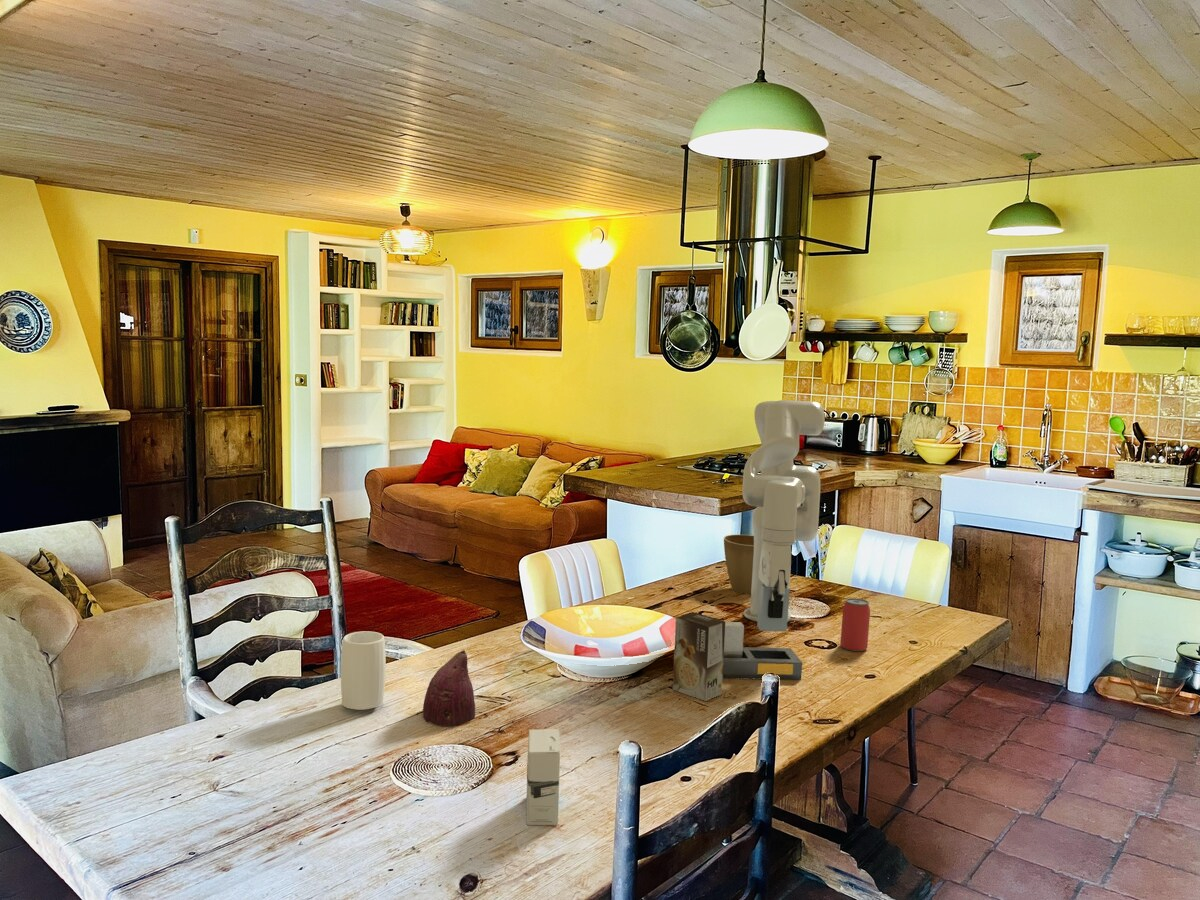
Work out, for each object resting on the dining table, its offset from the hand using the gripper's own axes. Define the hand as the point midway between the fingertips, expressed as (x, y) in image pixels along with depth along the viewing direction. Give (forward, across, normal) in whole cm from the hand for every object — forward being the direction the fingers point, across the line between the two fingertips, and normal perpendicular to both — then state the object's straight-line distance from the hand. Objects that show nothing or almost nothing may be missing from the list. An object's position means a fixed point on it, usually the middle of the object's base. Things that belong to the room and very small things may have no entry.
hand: (772, 614), depth 204 cm
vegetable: (+14, +27, -70) cm, 76 cm away
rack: (+14, 0, -5) cm, 14 cm away
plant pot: (+13, -69, +10) cm, 71 cm away
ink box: (+14, +63, -52) cm, 83 cm away
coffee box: (+14, +13, -19) cm, 27 cm away
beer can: (+14, -18, +26) cm, 35 cm away
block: (+3, 0, 0) cm, 3 cm away
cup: (+14, +24, -87) cm, 91 cm away
